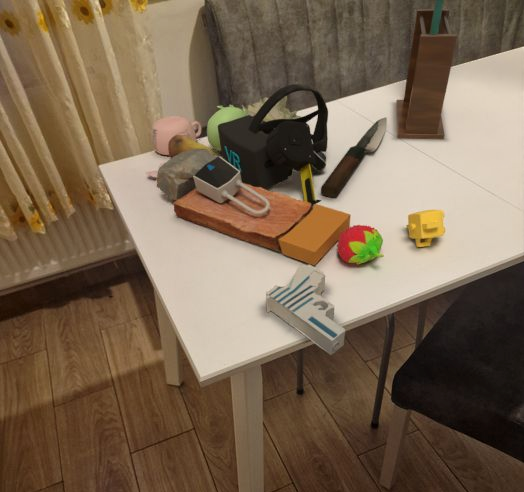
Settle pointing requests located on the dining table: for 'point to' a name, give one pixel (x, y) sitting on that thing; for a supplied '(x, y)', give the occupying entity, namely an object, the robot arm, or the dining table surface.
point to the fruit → (184, 145)
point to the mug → (172, 131)
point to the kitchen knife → (354, 159)
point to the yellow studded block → (426, 226)
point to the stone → (182, 172)
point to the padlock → (224, 183)
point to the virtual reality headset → (254, 143)
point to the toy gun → (307, 308)
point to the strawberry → (359, 244)
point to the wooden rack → (426, 78)
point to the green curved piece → (222, 117)
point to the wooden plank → (269, 221)
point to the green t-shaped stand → (436, 16)
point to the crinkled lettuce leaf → (273, 110)
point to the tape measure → (294, 153)
